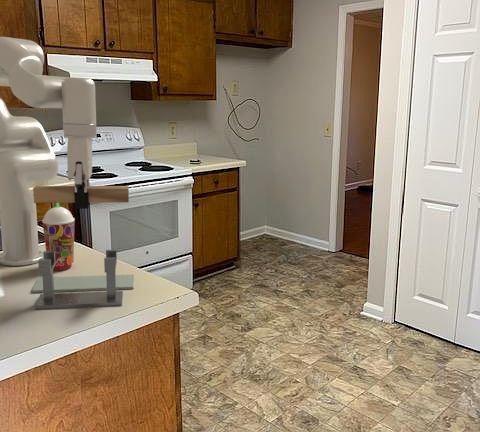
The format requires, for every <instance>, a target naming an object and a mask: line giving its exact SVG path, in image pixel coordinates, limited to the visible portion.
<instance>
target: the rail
mask: <svg viewBox="0 0 480 432" xmlns="http://www.w3.org/2000/svg"><path fill="white" fill-rule="evenodd" d="M129 189H130V188H129V185H89V186H87V192H88V195H89V203H90V204H91V203H94V204H95V203H97V204H98V203H99V204H100V203H102V204H103V203H104V204H105V203H112V204H113V203H114V204H115V203H129V201H130V197H129V195H130V194H129V191H130V190H129ZM74 192H75V185H35V186H34V187H33V188H32V193H33V196H34V203H36V204H57V203H59V204H62V203H63V204H66V203H67V204H71V203H72V204H73V203H74V204H75V198H74Z"/></svg>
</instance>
